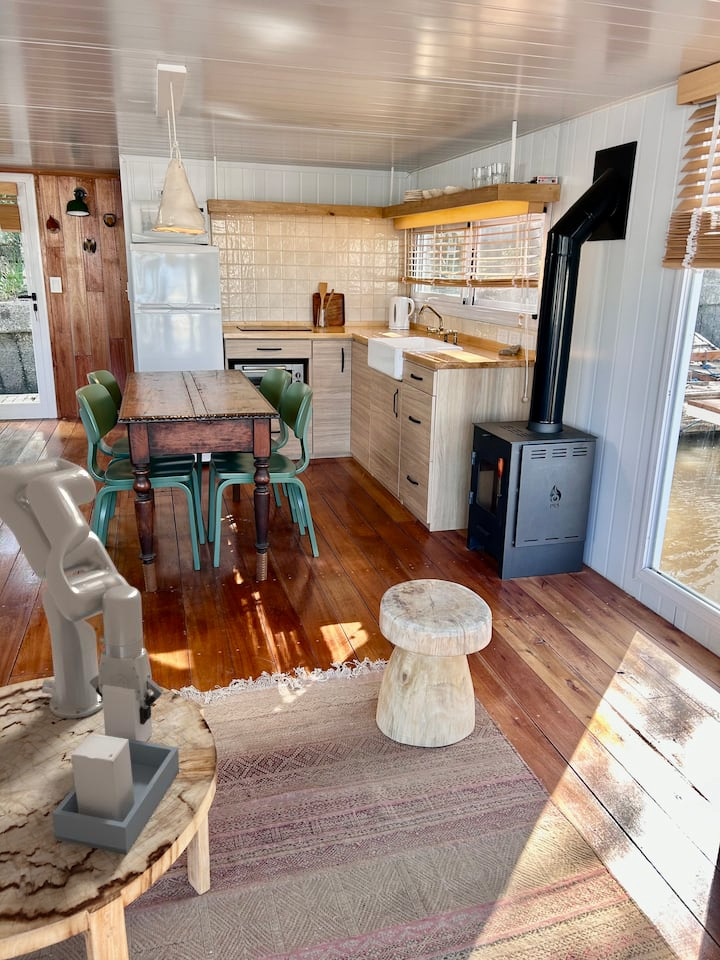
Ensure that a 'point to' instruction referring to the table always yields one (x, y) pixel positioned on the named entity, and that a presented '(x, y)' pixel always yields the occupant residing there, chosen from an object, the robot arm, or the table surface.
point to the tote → (150, 783)
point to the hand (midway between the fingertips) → (128, 717)
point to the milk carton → (124, 714)
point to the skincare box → (103, 777)
